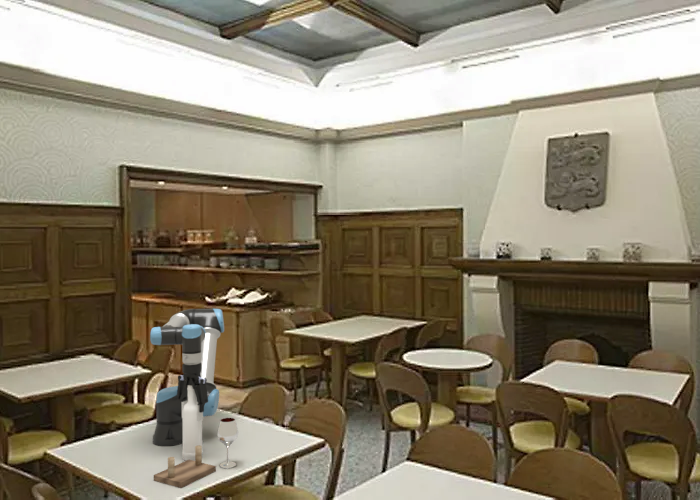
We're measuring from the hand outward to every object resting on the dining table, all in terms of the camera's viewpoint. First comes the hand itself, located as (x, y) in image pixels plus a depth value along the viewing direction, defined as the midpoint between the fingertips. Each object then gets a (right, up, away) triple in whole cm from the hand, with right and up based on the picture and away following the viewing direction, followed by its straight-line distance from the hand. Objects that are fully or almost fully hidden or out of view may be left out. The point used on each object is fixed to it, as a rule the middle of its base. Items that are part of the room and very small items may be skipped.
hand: (192, 418), depth 243 cm
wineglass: (+16, -16, -8) cm, 24 cm away
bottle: (0, -16, 0) cm, 16 cm away
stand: (+2, -16, -18) cm, 25 cm away
